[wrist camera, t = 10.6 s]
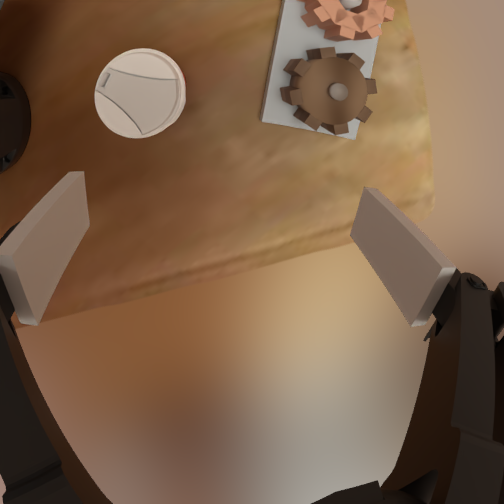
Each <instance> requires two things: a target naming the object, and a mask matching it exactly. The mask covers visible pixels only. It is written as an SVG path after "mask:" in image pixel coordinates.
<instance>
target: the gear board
mask: <svg viewBox="0 0 504 504" xmlns="http://www.w3.org/2000/svg"><path fill="white" fill-rule="evenodd" d="M339 2H340V3H341V4H342V6H343V7H344V9H345V10H347V11H350V8H353V7H356V6H359V5H360V4H361V3H362V0H339ZM304 7H305V2H301V1H297V0H282V4H281V9H280V14H279V19H278V24H277V29H276V35H275V40H274V45H273V50H272V55H271V61H270V66H269V71H268V76H267V82H266V87H265V93H264V98H263V103H262V109H261V114H260V120H261V121H262V122H267V123H273V124H279V125H285V126H291V127H296V128H302V129H307V130H312V131H315V130H314V129H312V128H311V127H309V126H308V125H306V124H305V123H303V122H302V121H300V120H299V119H297V118H296V117H294V116H293V114H294V113H295V112H296V110H297V109H298V107H297V105H294V106H292V105H290V104H288V103H286V102H284V101H282V97H281V92H280V88H281V87H286V86H290V79H291V76H292V75H290V74H288V73H287V72H285V71H284V70H283V69H284V68H285V66H286V65H287V63H288V62H289V61H290V59H299V58H302V59H304V60H305V61H306V60H308V57H307V52H306V50H310V49H317V48H325V47H335V51H336V54H337V53H355V54H356V55H358V56H359V57H360V58H361V59H362V60H364V61H365V63H364V65H363V66H362V67H361V69H360V71H361V73H362V74H363V76H364V78H370V76H371V71H372V67H373V62H374V57H375V52H376V47H377V42H378V37H379V36H377V37H375V38H373V39H365V40H355V41H353V40H346V41H339V42H335V41H332V40H328V39H325V38H324V34H325V30H323V29H320V28H319V27H318V26H317V24H316V25H313V26H311V27H307V25H306V24H305V22H304V21H303V20H302V18H301V16H302V15H304V14H306V13H308V12H307V11H306V9H305V8H304ZM378 26H379V27H381V24H379V25H378ZM359 123H360V120H357V119H355V118H354V119H353V120H351V121H350V122H348V129H349V133H345V134H340V135H335V136H340V137H344V138H348V139H353V140H355V138H356V134H357V131H358V127H359ZM317 132H322V133H326V134H331V135H334V134H333V133H331V132H329V131H328V130H326V129H325V128H323V127H321V125H320V127H319V128H318V129H317Z"/></svg>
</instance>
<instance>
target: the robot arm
mask: <svg viewBox="0 0 504 504" xmlns="http://www.w3.org/2000/svg"><path fill="white" fill-rule="evenodd" d="M4 1H5V0H0V10H1V7H2V5H3V3H4ZM30 125H31V115H30V107H29V102H28V99H27V96H26V93H25V91H24V89H23V88H22V86H21V85H20V83H19V82H18V81H17V80H16V79H15V78H14V77H12V76H11V75H9V74H6V73H2V72H0V174H1V173H3V172H4V171H6V170H7V169H8V168H10V167H11V166H13V165H14V164H15V163H16V162H17V161H18V159H19V158H20V157H21V155H22V153H23V151H24V149H25V147H26V144H27V141H28V138H29V133H30ZM89 226H90V222H89V215H88V207H87V198H86V188H85V178H84V171H78V172H69V173H68V174H66V175H65V176H64V177H63V178H62V179H61V180H60V181H59V182H58V183H57V184H56V185H55V186H54V187H53V188H52V189H51V190H50V191H49V192H48V193H47V194H46V195H45V196H44V197H43V198H42V199H41V200H40V201H39V202H38V203H37V204H36V205H35V207H34V208H33V209H32V210H31V211H30V212H29V213H28V214H27V215H26V216H25V217H24V219H23V220H22V221H21V222H18V223H17V224H15V225H14V226H12V227H11V228H10V229H9V230H8V231H7V232H6V233H5V234H4V236H3V237H2V238H1V239H0V474H1V476H2V479H3V481H4V483H5V486H6V492H5V493H4V494H3V496H2V497H3V504H113V503H112V502H111V501H110V500H109V499H108V498H106V496H105V495H104V494H103V492H102V491H101V490H100V489H99V487H98V486H97V485H96V483H95V482H94V480H93V479H92V478H91V476H90V475H89V473H88V472H87V471H86V469H85V468H84V466H83V465H82V463H81V462H80V460H79V459H78V457H77V456H76V454H75V452H74V451H73V449H72V448H71V446H70V444H69V443H68V441H67V439H66V438H65V436H64V434H63V433H62V431H61V429H60V428H59V426H58V424H57V422H56V420H55V418H54V417H53V415H52V413H51V411H50V409H49V407H48V406H47V403H46V401H45V399H44V397H43V395H42V393H41V391H40V389H39V387H38V385H37V383H36V380H35V378H34V376H33V374H32V372H31V369H30V367H29V364H28V362H27V360H26V357H25V355H24V352H23V350H22V347H21V345H20V342H19V339H18V336H17V333H16V331H15V328H14V325H13V323H12V321H11V319H10V318H11V316H12V314H13V312H14V311H15V312H16V314H17V317H18V319H19V321H20V323H23V324H30V325H39V322H40V320H41V318H42V316H43V313H44V311H45V309H46V307H47V305H48V303H49V300H50V298H51V296H52V294H53V292H54V290H55V288H56V286H57V284H58V282H59V280H60V278H61V276H62V274H63V272H64V270H65V269H66V267H67V265H68V263H69V261H70V259H71V257H72V256H73V254H74V252H75V250H76V248H77V247H78V245H79V243H80V241H81V240H82V238H83V236H84V234H85V233H86V231H87V229H88V228H89ZM350 236H351V237H352V239H353V240H354V242H355V243H356V244H357V246H358V247H359V249H360V250H361V251H362V253H363V254H364V256H365V257H366V259H367V260H368V262H369V263H370V264H371V266H372V267H373V269H374V270H375V272H376V273H377V275H378V276H379V278H380V279H381V281H382V282H383V284H384V285H385V287H386V288H387V290H388V291H389V293H390V294H391V296H392V298H393V299H394V301H395V302H396V304H397V305H398V307H399V309H400V310H401V312H402V313H403V315H404V317H405V318H406V320H407V321H408V323H409V324H410V326H411V327H412V326H419V325H425V324H426V322H427V321H428V319H429V317H430V316H431V314H432V313H433V315H434V316H435V318H436V321H435V322H434V324H433V325H432V327H431V329H430V330H429V332H428V333H427V335H426V336H425V338H424V341H426V340H427V339H428V338H430V342H429V347H428V352H427V357H426V362H425V367H424V371H423V376H422V380H421V384H420V388H419V392H418V396H417V400H416V403H415V407H414V411H413V414H412V418H411V421H410V425H409V427H408V431H407V434H406V437H405V440H404V443H403V446H402V449H401V451H400V455H399V457H398V460H397V462H396V466H395V468H394V469H393V471H392V473H391V474H390V475H389V477H388V478H387V479H386V480H385V482H384V483H383V484H382V486H381V487H380V486H379V483H378V481H374V482H370V483H367V484H364V485H360V486H356V487H353V488H349V489H345V490H341V491H337V492H334V493H333V494H331V495H328V496H326V497H324V498H322V499H320V500H318V501H316V502H314V503H311V504H504V336H503V337H502V339H501V340H500V341H498V339H497V336H498V335H499V334H500V332H501V331H502V329H503V328H504V282H500V283H499V285H498V286H497V288H496V290H495V291H490V290H488V288H487V286H486V284H485V283H484V282H483V281H482V280H481V279H480V278H479V277H477V276H475V275H474V274H471V273H462V274H461V273H460V271H459V270H458V269H457V268H456V267H455V266H454V264H453V263H452V262H451V261H450V260H449V259H448V258H447V257H446V256H445V255H444V253H443V252H442V251H441V250H440V249H439V248H438V247H437V246H436V245H435V244H434V243H433V242H432V241H431V240H430V239H429V238H428V237H427V236H426V235H425V234H424V233H423V232H422V231H421V230H420V229H419V228H418V227H417V226H416V225H415V224H414V223H413V222H412V221H411V220H410V219H409V218H408V217H407V216H406V215H405V214H404V213H403V212H402V211H401V210H400V209H399V208H397V207H396V206H395V205H394V204H393V203H392V202H391V201H390V200H389V199H388V198H387V197H386V196H384V195H383V194H382V193H381V192H380V191H379V190H378V189H375V188H368V187H364V189H363V193H362V196H361V200H360V203H359V207H358V210H357V214H356V217H355V220H354V224H353V227H352V230H351V234H350Z"/></svg>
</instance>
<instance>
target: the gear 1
mask: <svg viewBox="0 0 504 504" xmlns="http://www.w3.org/2000/svg"><path fill="white" fill-rule="evenodd" d="M297 1H301V2H305V7H304V8H305V9H306V11H307V12H308V13H306V14H304V15H302V16H301V18H302V20H303V21H304V22H305V24H306V25H307V27H311V26H313V25H316V24H317V26H318V27H319V28H320V29H323V30H325V34H324V38H325V39H328V40H332V41H335V42H339V41H346V40H353V41H355V40H365V39H373V38H375V37H377V36H379V35H381V34H383V32H382V31H381V29H380V27H379V26H378V25H379V24H381V23H383V22H386V21H392V20H393V14H394V8H392V7H389V6H387V5H386V1H387V0H362V3H361V4H360V5H359V6H356V7H353V8H350V11H347V10H345V9H344V7H343V6H342V4H341V3H340V2H339V0H297Z"/></svg>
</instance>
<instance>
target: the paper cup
mask: <svg viewBox="0 0 504 504" xmlns="http://www.w3.org/2000/svg"><path fill="white" fill-rule="evenodd" d="M185 89H186V79H185V76H184V74H183V72H182V71H181V69H180V68H179V66H178V65H177V64H176V63H175V61H174V60H172V59H171V58H170V57H169V56H167V55H166V54H164V53H162V52H160V51H157V50H153V49H146V48H140V49H133V50H130V51H127V52H124V53H122V54H120V55H119V56H117V57H115V58H114V59H113V60H112V61H111V62H109V63H108V64H107V66H106V67H105V68H104V69H103V71H102V73H101V74H100V76H99V78H98V81H97V84H96V88H95V105H96V110H97V112H98V115H99V117H100V118H101V120H102V121H103V123H104V124H105V125H106V126H107V127H108V128H109V129H110V130H112V131H113V132H115V133H116V134H119V135H121V136H124V137H128V138H145V137H150V136H152V135H155V134H157V133H159V132H161V131H163V130H164V129H165V128H167V127H168V126H169V125H171V124H172V123H174V122H175V121H176V120H177V119H178V117H179V116H180V114H181V112H182V110H183V108H184V105H185V102H186V98H185Z"/></svg>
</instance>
